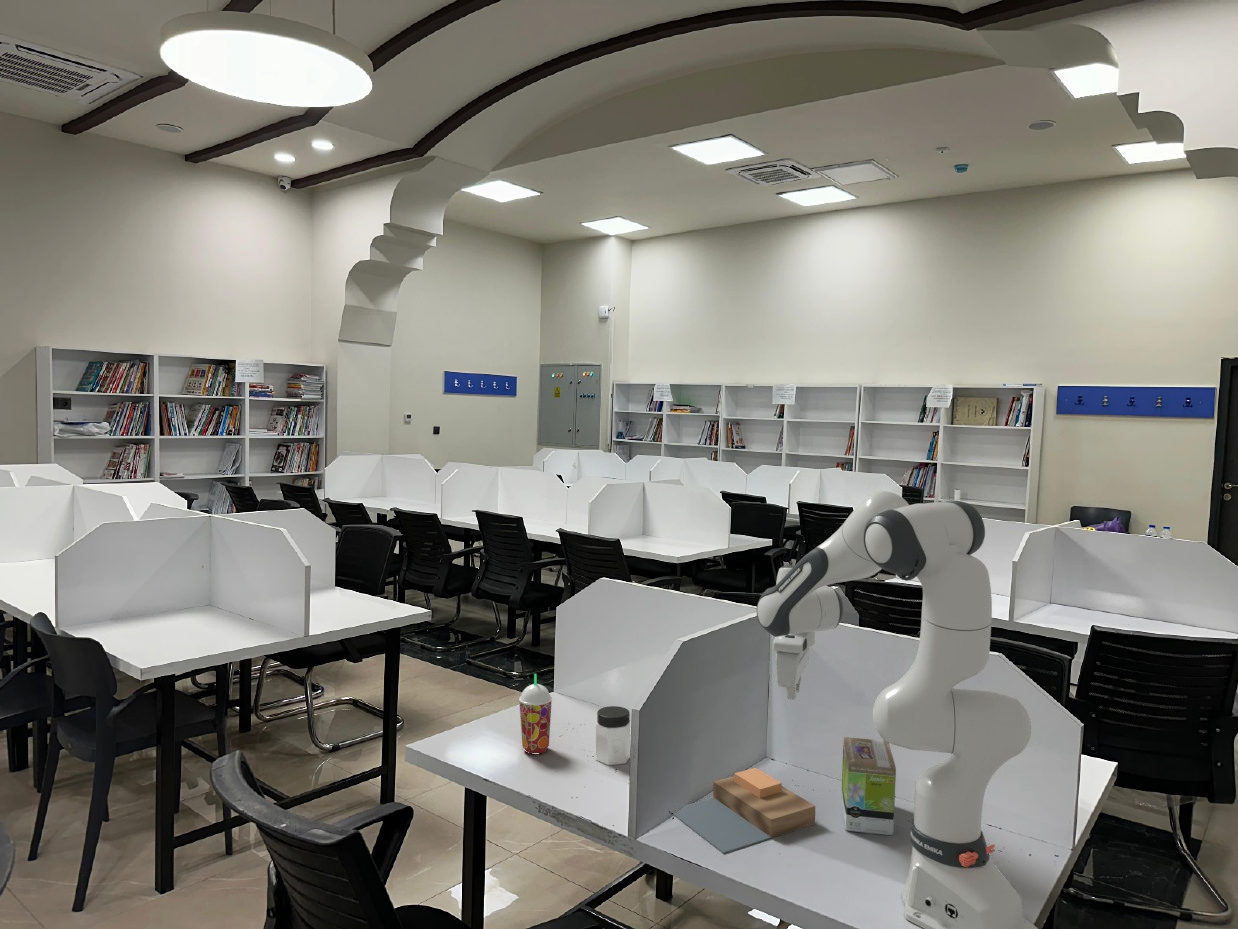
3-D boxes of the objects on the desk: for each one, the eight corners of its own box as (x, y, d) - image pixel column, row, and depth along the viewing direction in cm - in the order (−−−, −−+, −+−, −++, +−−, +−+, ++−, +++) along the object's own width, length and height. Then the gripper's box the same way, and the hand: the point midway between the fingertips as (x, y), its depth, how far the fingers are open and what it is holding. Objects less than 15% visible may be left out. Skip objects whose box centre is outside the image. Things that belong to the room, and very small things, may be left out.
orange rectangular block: (781, 792, 184) (781, 783, 184) (759, 798, 181) (760, 789, 181) (755, 776, 192) (755, 767, 191) (734, 782, 189) (734, 773, 188)
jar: (599, 767, 206) (599, 719, 205) (592, 753, 213) (592, 707, 213) (634, 763, 208) (634, 716, 207) (626, 750, 216) (626, 704, 215)
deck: (815, 824, 178) (815, 806, 177) (770, 838, 172) (771, 819, 171) (755, 787, 195) (755, 770, 195) (713, 798, 189) (713, 781, 189)
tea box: (895, 837, 173) (897, 767, 172) (844, 832, 175) (846, 763, 174) (887, 803, 187) (888, 738, 186) (840, 799, 189) (842, 735, 188)
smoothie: (522, 743, 220) (521, 668, 218) (553, 744, 219) (553, 669, 218) (517, 757, 211) (516, 679, 210) (549, 757, 211) (549, 679, 210)
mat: (770, 838, 172) (770, 837, 172) (723, 854, 166) (723, 852, 166) (713, 798, 189) (713, 797, 189) (668, 811, 183) (668, 810, 183)
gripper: (789, 622, 200) (788, 679, 200) (771, 645, 181) (770, 708, 182) (816, 625, 197) (815, 682, 198) (800, 648, 178) (799, 712, 179)
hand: (793, 695), depth 190 cm, fingers open, 3 cm apart
